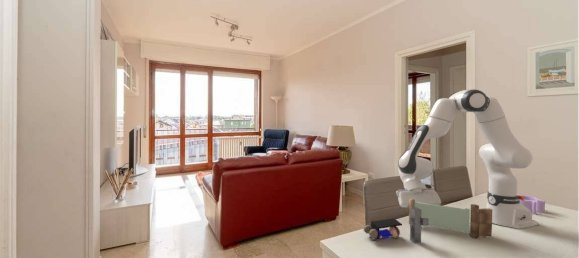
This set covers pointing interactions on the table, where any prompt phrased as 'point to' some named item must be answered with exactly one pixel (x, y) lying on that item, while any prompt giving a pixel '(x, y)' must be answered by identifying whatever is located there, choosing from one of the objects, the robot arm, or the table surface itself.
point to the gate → (443, 216)
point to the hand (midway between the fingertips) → (424, 214)
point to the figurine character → (385, 233)
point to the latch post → (416, 224)
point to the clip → (533, 204)
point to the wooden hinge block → (480, 222)
